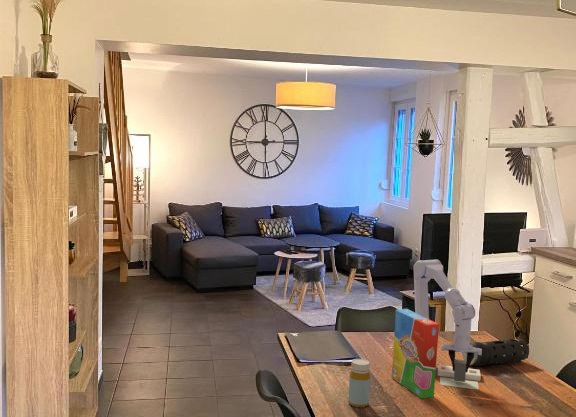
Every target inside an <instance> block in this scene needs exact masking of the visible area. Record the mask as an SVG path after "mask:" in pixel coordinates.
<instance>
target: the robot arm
mask: <svg viewBox="0 0 576 417" xmlns="http://www.w3.org/2000/svg"><path fill="white" fill-rule="evenodd" d="M431 279H432V280H433V279H434V281H435V282H436V284H438V286H439V287H440V288H441V289H442V291H443V292H444V298H445V300H446V301H447V303H448V305H449V306H450V308H451V309H452V317H453V322H454V324H455V325H454V338H453V344H443V343H441V350H440V351H442V352H445V351H447V352H448V356H449V358H450V362H451V365H452V367H453V371H455V359H456V353H462V352H463V353H467V359H466V372H468V368H469V369H470V366H471V365H470V363H471V361H472V360H473V358H474V354H478V355H481V354H482V349H480V348H474V347H470V343H471V330H472V329H471V328H472V319H474V318H475V316H476V309H475V306H474V305H473V303H469V302H468V301H466V300H465V298H464V297H463V295H462V294H461V291H460V290H459V289H457V288H454V287H453V286H452V284H451V283H450V280H449V279H448V277H447V276H446V274H445V272H444V265H443V264H442V262H441V261H440V260H439V259H436V258H435V259H426V260H421V259H420V260H416V262H414V264H413V283H414V284H413V285H414V286H413V287H414V288H413V290H414V308H415V309H414V310H415V311H414V312H415V313H417V314H419V315H421V316H423V317H425V318H427V319H429V320H430V317H429V316H430V314H429V313H430V311H429V286H428V285H429V284H428V282H430V280H431Z"/></svg>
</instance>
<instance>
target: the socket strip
mask: <svg viewBox="0 0 576 417" xmlns="http://www.w3.org/2000/svg"><path fill="white" fill-rule="evenodd" d="M437 377H444V378H452V379H454V371H453V367H452V366H451V365H445V364H444V365H443V364H437ZM481 378H482V377H481V371H480V369H475V368H470V367H469V368H468V372H466V374H465V380H468V381H476V382H481Z"/></svg>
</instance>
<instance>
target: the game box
mask: <svg viewBox="0 0 576 417" xmlns="http://www.w3.org/2000/svg"><path fill="white" fill-rule="evenodd" d="M394 318H395V319H394V333H393V334H394V336H393V351H392V365H391V366H392V367H391V379H392V380H395V381H396V382H397V383H399V384H400V385H402V386H403V387H405V389H407V390H409V391H411V393H413V394H414V395H416V396H417V397H419V398H420V399H429V398H434V397H435V385H436V370H437V358H438V344H439V343H438V341H439V328H440V323H438V322H435V321H433V320H431V319H430V318H429V319H427V318H425V317H423V316H421V315H419V314H417V313H415V311H412V310H410V309H409V308H401V309H395V316H394Z"/></svg>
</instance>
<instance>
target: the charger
mask: <svg viewBox="0 0 576 417" xmlns="http://www.w3.org/2000/svg"><path fill="white" fill-rule="evenodd" d="M465 374H466V361H465V360H464V359H458V358H457V359H456V358H455V371H454V378H453V379H454V381H460V382H465V380H466V379H465Z"/></svg>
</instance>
